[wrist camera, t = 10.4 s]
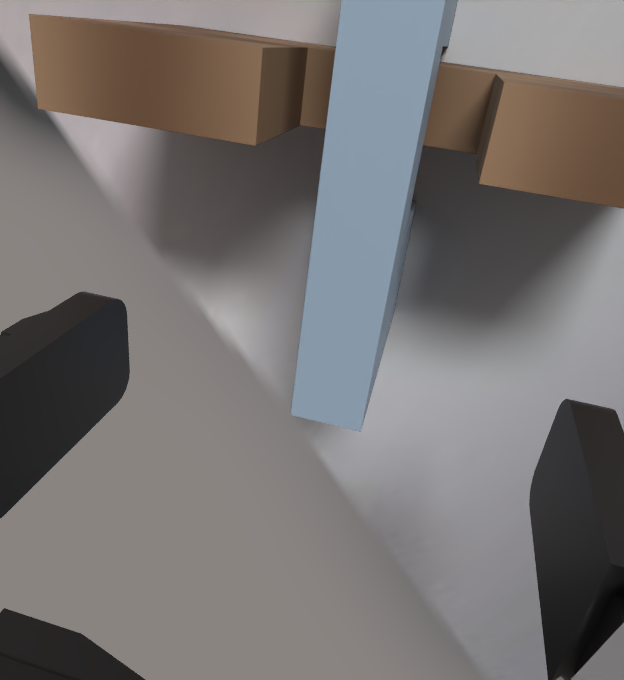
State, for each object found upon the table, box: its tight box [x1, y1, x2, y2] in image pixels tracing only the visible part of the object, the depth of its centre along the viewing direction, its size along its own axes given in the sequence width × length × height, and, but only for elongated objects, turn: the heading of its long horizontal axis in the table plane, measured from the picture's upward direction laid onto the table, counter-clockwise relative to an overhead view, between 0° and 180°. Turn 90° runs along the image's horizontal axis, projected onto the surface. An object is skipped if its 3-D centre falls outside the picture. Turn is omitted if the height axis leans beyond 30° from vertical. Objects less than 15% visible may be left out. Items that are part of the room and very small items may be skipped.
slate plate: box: [291, 0, 458, 432], centre depth 16 cm, size 14×2×8 cm, turn 173°
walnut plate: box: [29, 14, 624, 208], centre depth 16 cm, size 16×2×8 cm, turn 83°
